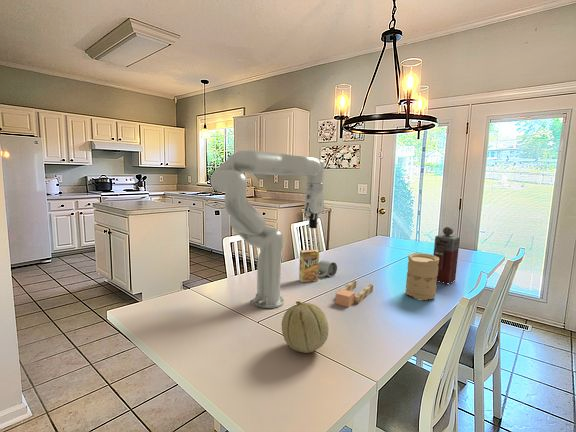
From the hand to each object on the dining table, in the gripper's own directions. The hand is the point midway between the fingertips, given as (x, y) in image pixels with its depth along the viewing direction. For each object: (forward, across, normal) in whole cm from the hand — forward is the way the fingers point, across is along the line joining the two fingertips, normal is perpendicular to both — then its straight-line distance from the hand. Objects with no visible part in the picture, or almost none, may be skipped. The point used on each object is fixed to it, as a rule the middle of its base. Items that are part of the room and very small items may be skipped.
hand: (312, 227), depth 148 cm
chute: (+29, +7, -20) cm, 35 cm away
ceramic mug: (+29, +22, +4) cm, 36 cm away
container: (+29, +24, -43) cm, 57 cm away
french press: (+28, +51, -48) cm, 76 cm away
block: (+29, -5, -20) cm, 35 cm away
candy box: (+29, +9, +6) cm, 31 cm away
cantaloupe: (+30, -44, -24) cm, 59 cm away
